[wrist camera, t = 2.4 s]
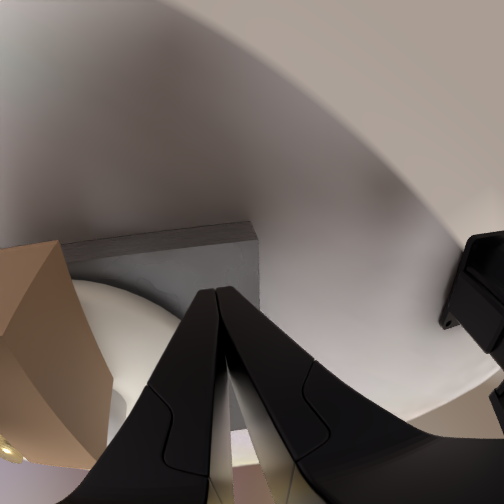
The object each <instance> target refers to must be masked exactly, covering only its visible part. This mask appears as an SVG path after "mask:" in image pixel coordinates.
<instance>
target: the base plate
mask: <svg viewBox="0 0 504 504" xmlns="http://www.w3.org/2000/svg"><path fill="white" fill-rule="evenodd" d="M60 246H61V249H62V253H63V256H64V259H65V262H66V265H67V268H68V271H69V274H70V277H71V280H84V281H90V282H96V283H101V284H106V285H109V286H113V287H116V288H119V289H123V290H126V291H128V292H131V293H133V294H136V295H138V296H141V297H143V298H145V299H147V300H149V301H151V302H153V303H155V304H157V305H159V306H161V307H162V308H164V309H165V310H167V311H168V312H170V313H171V314H173V315H174V316H176V317H177V318H178V319H180V320H182V318H183V316H184V314H185V313H186V311H187V309H188V307H189V306H190V304H191V302H192V300H193V298H194V297H195V295H196V293H197V291H198V290H201V289H209V288H214V289H215V291H216V288H217V287H224V286H233V287H234V288H235V289H236V290H238V291H239V292H240V293H241V294H242V295H243V296H244V297H245V298H246V299H247V300H249V301H250V302H251V303H252V304H253V305H254V306H255V307H256V308H257V309H259V310H260V305H259V252H258V238H257V236H256V233H255V231H254V229H253V227H252V225H251V222H250V221H249V222H240V223H230V224H221V225H212V226H203V227H194V228H185V229H177V230H169V231H160V232H152V233H144V234H136V235H129V236H121V237H113V238H106V239H99V240H91V241H84V242H77V243H70V244H63V245H60ZM225 357H226V356H225ZM226 363H227V362H226ZM227 371H228V367H227ZM228 385H229V411H230V431H234V430H241V429H247V427H246V424H245V421H244V418H243V415H242V412H241V409H240V406H239V404H238V401H237V398H236V395H235V392H234V389H233V386H232V383H231V379H230V376H229V372H228Z"/></svg>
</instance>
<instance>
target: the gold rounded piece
mask: <svg viewBox="0 0 504 504" xmlns="http://www.w3.org/2000/svg"><path fill="white" fill-rule="evenodd" d="M0 457H1V458H3V459H5V460H7V461H10V462H13V463H18V464H19V463H22V460H23V455H22V454H20V453H19V452H18V451H17V450H16V449H15V448H14V447H13V446H12V445H11V444H10V443H9V442H8V441H7V440H6V439H5V438H4V437H3V436H2V435H1V434H0Z"/></svg>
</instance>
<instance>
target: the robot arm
mask: <svg viewBox="0 0 504 504" xmlns="http://www.w3.org/2000/svg"><path fill="white" fill-rule="evenodd" d="M439 324H440V326H441V327H442V328H443V329H444V330H446V329H449V328H452V327H454V326H457V325H461V326H462V327H463V328H464V329H465V330H466V331H467V333H468V334H469V335H470V336H471V337H472V338H473V340H474V341H475V342H476V343H477V344H478V345H479V347H480V348H481V349H482V350H483V351H484V352H485V353H486V354H490V355H491V356H492V358H493V359H494V360H495V361H496V362H497V364H498V365H499V366H500V367H501V369H502V370H503V371H504V231H497V232H491V233H484V234H477V235H472V236H471V237H470V238H469V239H468V240H467V242H466V245H465V249H464V252H463V256H462V259H461V262H460V266H459V269H458V272H457V275H456V278H455V281H454V284H453V287H452V290H451V293H450V296H449V298H448V301H447V304H446V307H445V309H444V312H443V314H442V317H441V320H440V323H439ZM225 356H226V357H225ZM226 362H227V363H226ZM227 367H228V371H227ZM228 372H229V376H230V379H231V383H232V386H233V389H234V392H235V395H236V398H237V401H238V404H239V406H240V409H241V412H242V415H243V418H244V421H245V424H246V427H247V430H248V432H249V435H250V438H251V441H252V444H253V446H254V449H255V452H256V455H257V457H258V460H259V463H260V465H261V468H262V471H263V473H264V476H265V479H266V481H267V484H268V487H269V489H270V492H271V494H272V497H273V499H274V502H275V504H504V439H475V438H454V437H441V436H437V435H433V434H429V433H427V432H424V431H422V430H419V429H417V428H415V427H413V426H412V425H410V424H407V423H406V422H405V421H403V420H401V419H400V418H398V417H396V416H395V415H393V414H392V413H390V412H388V411H387V410H385V409H383V408H382V407H380V406H379V405H377V404H375V403H374V402H372V401H371V400H369V399H367V398H366V397H364V396H363V395H361V394H360V393H358V392H357V391H355V390H354V389H353V388H351V387H350V386H348V385H347V384H345V383H344V382H343V381H341V380H340V379H339V378H338V377H336V376H335V375H334V374H332V373H331V372H330V371H329V370H327V369H326V368H325V367H324V366H323V365H322V364H320V363H319V362H318V361H317V360H315V361H314V358H313V357H312V356H311V355H310V354H309V353H307V352H306V351H305V350H304V349H303V348H302V347H301V346H299V345H298V344H297V343H296V342H295V341H294V340H293V339H291V338H290V337H289V336H288V335H287V334H286V333H285V332H283V331H282V330H281V329H280V328H279V327H278V326H277V325H275V324H274V323H273V322H272V321H271V320H270V319H269V318H268V317H266V316H265V315H264V314H263V313H262V312H261V311H260V310H259V309H257V308H256V307H255V306H254V305H253V304H252V303H251V302H250V301H249V300H247V299H246V298H245V297H244V296H243V295H242V294H241V293H240V292H239V291H238V290H236V289H235V288H234V287H233V286H224V287H217V288H216V291H215V289H214V288H209V289H201V290H198V291H197V293H196V295H195V297H194V298H193V300H192V302H191V304H190V306H189V307H188V309H187V311H186V313H185V314H184V316H183V318H182V320H181V322H180V323H179V325H178V327H177V329H176V331H175V332H174V334H173V336H172V338H171V340H170V341H169V343H168V345H167V347H166V349H165V350H164V352H163V354H162V356H161V358H160V360H159V361H158V363H157V365H156V367H155V369H154V371H153V372H152V374H151V376H150V378H149V380H148V382H147V385H146V386H145V387H144V389H143V391H142V392H141V394H140V396H139V398H138V400H137V402H136V403H135V405H134V407H133V408H132V410H131V412H130V414H129V415H128V417H127V418H126V420H125V421H124V423H123V424H122V426H121V427H120V429H119V430H118V432H117V433H116V435H115V436H114V438H113V439H112V440H111V442H110V443H109V445H108V446H107V447H106V449H105V450H104V452H103V453H102V454H101V456H100V457H99V459H98V460H97V462H96V463H95V464H94V466H93V467H92V469H91V470H90V471H89V473H88V474H87V476H86V477H85V478H84V480H83V481H82V482H81V484H80V485H79V486H78V487H77V488H76V489H75V490H74V491H73V492H72V493H71V494H70V495H68V496H67V497H66V498H65V499H63V500H62V501H60V502H58V503H56V504H234V493H233V474H232V455H231V434H230V411H229V385H228ZM489 399H490V401H491V403H492V406H493V409H494V411H495V414H496V416H497V419H498V421H499V423H500V426H501V429H502V431H503V434H504V380H503V381H502V383H501V384H500V385H499V386H498V387H497V388H495V389H494V390H493V391H492V392H491V394H490V395H489Z"/></svg>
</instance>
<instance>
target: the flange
mask: <svg viewBox="0 0 504 504" xmlns="http://www.w3.org/2000/svg"><path fill="white" fill-rule="evenodd" d="M180 322H181V320H180V319H178V318H177V317H176V316H174V315H173V314H171V313H170V312H168V311H167V310H165V309H164V308H162V307H161V306H159V305H157V304H155V303H153V302H151V301H149V300H147V299H145V298H143V297H141V296H138V295H136V294H133V293H131V292H128V291H126V290H123V289H119V288H116V287H113V286H109V285H106V284H101V283H96V282H90V281H84V280H71V277H70V274H69V271H68V268H67V265H66V262H65V259H64V256H63V253H62V249H61V246H60V243H59V240H54V241H48V242H42V243H35V244H29V245H23V246H17V247H11V248H5V249H0V434H1V435H2V436H3V437H4V438H5V439H6V440H7V441H8V442H9V443H10V444H11V445H12V446H13V447H14V448H15V449H16V450H17V451H18V452H19V453H20V454H22V455H23V456H24V457H25V458H26V459H27V460H28V461H29V462H31V463H37V464H44V465H51V466H59V467H68V468H79V469H92V467H93V466H94V464H95V463H96V462H97V460H98V459H99V457H100V456H101V454H102V453H103V452H104V450H105V449H106V447H107V446H108V445H109V443H110V442H111V440H112V439H113V438H114V436H115V435H116V433H117V432H118V430H119V429H120V427H121V426H122V424H123V423H124V421H125V420H126V418H127V417H128V415H129V414H130V412H131V410H132V408H133V407H134V405H135V403H136V402H137V400H138V398H139V396H140V394H141V392H142V391H143V389H144V387H145V386H146V385H147V382H148V380H149V378H150V376H151V374H152V372H153V371H154V369H155V367H156V365H157V363H158V361H159V360H160V358H161V356H162V354H163V352H164V350H165V349H166V347H167V345H168V343H169V341H170V340H171V338H172V336H173V334H174V332H175V331H176V329H177V327H178V325H179V323H180Z"/></svg>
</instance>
